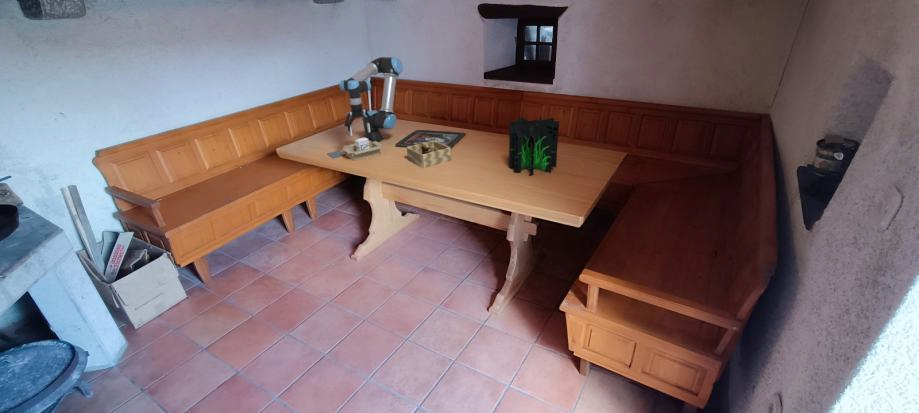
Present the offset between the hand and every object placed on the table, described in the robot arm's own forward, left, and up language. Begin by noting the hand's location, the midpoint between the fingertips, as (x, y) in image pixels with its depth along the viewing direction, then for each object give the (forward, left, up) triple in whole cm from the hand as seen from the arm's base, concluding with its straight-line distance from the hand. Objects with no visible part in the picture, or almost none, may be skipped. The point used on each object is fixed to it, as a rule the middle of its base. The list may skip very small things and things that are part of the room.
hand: (360, 133), depth 301 cm
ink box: (0, 0, -16) cm, 16 cm away
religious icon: (-55, +6, -17) cm, 58 cm away
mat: (+16, -14, -16) cm, 26 cm away
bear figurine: (-32, +39, -16) cm, 53 cm away
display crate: (-31, +41, -16) cm, 54 cm away
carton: (0, 0, -16) cm, 16 cm away
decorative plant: (-75, +97, -16) cm, 124 cm away
